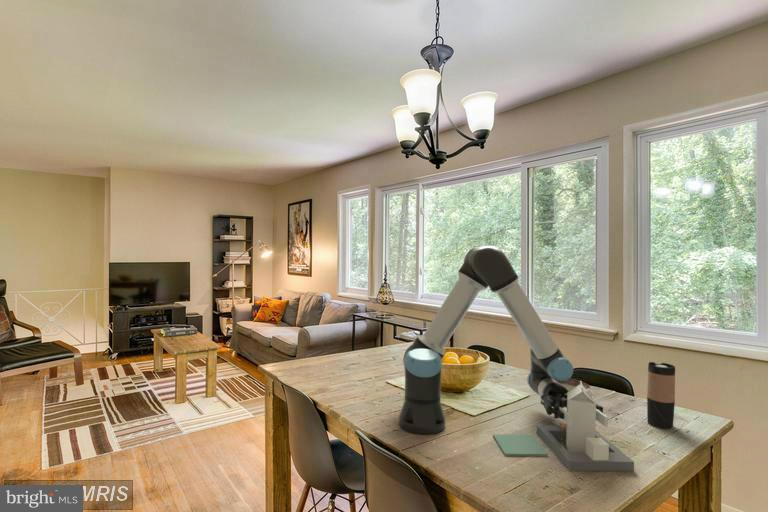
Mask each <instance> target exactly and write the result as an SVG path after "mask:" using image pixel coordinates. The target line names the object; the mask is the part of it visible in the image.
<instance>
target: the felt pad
mask: <svg viewBox="0 0 768 512" xmlns="http://www.w3.org/2000/svg"><path fill="white" fill-rule="evenodd" d="M492 437H493V439H494V440H495V442H496V443H497V444H498V445H497V446H498V447H499V449H500V450H501V452H502V453H503V455H504V456H505V457H509V456H510V457H512V456H513V457H549V453H548V452H547V450H546V449H544V447H543V446H542V445H541V444H540V443H539V441H538V440H537V439H536V438H535V437H534V436H533V434H513V433H512V434H510V433H508V434H506V433H505V434H504V433H503V434H500V433H499V434H497V433H496V434H495V433H493V434H492Z"/></svg>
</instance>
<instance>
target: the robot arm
mask: <svg viewBox="0 0 768 512" xmlns="http://www.w3.org/2000/svg"><path fill="white" fill-rule="evenodd" d="M457 275H458V280H457V281H456V282H455V284H454V286H453V287H452V289H451V290H450V292H449V293H448V295H447V297H446V299H445V300H444V302H443V303H442V304H441V306H440V308H439V309H438V311H437V313H436V315H434V317H433V319H432V321H431V322H430V324H429V325H428V327H427V329H426V330H425V332H424V333H423V334H420V335H417V336H416V337H415V339H414V341H413V343H412V344H411V345H410V346H408V347H407V348H406V350H405V352H404V354H403V358H402V359H403V360H402V362H403V364H402V365H403V367H404V401H403V404H402V407H401V410H400V413H399V416H398V425H399V427H400V428H401V429H402V430H404V431H406V432H409V433H412V434H418V435H433V434H437V433H440V432H442V431H443V430H445V428H446V416H445V412H444V409H443V405H442V402H441V399H442V398H441V395H442V394H441V393H442V392H441V390H442V387H441V386H442V383H441V382H442V367H443V364H442V360H443V358H444V357H445V355H446V351H445V347H446V345H447V344H448V343H449V341H450V339H451V337H452V336H453V334H454V333H455V331H457V328H458V326H459V325H460V324H461V321H462V320H463V318H464V317H465V315H466V314H467V313H468V311H469V309H470V307H471V306H472V304H473V303H474V301H475V299H476V298H477V297H478V295H479V293H480V292H482V291H486V290H487V289H488V287H489V290H491V293H495V294H496V295H497V296H498V297H499V299H500V301H501V303H502V304H503V306H504V307H505V309H506V311H507V312H508V313H509V316H510V317H511V318H512V320H513V322H514V323H515V325H516V326H517V328H518V330H519V331H520V333H521V334H522V336H523V337H524V339H525V341H526V343H527V344H528V345H529V352H530V353H529V355H530V372H529V373H528V375H527V376H526V378H527V379H526V382H527V384H528V386H529V387H530V388H531V390H532V391H533V392H535V394H537V395H538V396H540V404H541V405H542V406H543V408H544V409H545V412H546V414H547V415H548V416H552V415H554V417H553V418H554V419H556V420H557V419H561V420H562V421H563V422H564V423H565V424H568V425H569V426H572V419H573V416H571V415H570V414H569V413H568V412H567V410H566V409H564V408H567V392H569V391H568V390H567V389H566V388H565V387H564V386H562V385H561V384H560V383H558V382H557V381H566V380H568V379H569V378H571V377H572V376H573V374H574V367H573V366H574V365H573V364H572V362H571V361H570V360H569V359H567V358H566V357H565V356H564V354H563V353H562V351H561V350H560V348H559V347H558V345H557V344H556V342H555V340H554V338H553V337H552V335H551V334H550V332H549V330H548V329H547V327H546V325H545V324H544V323H543V321H542V319H541V318H540V316H539V314H538V313H537V311H536V309H535V308H534V306H533V305H532V302H531V301H530V299H529V298H528V296H527V295H526V293H525V291H524V290H523V289H522V287H521V285H520V284H519V282H518V280H519V276H518V274H517V272H516V270H515V269H514V267H513V265H512V263H511V262H510V260H509V259H508V258H507V256H506V255H505V253H504V251H502V250H501V249H500V248H499V247H496V246H493V245H479V246H475V247H473V248H471V249H469V251H468V252H466V255H465V257H464V260H463V262H462V265H461V267H460V268H459V270H458V271H457ZM554 379H555V380H557V381H555V380H554ZM608 419H609V416H607V415H606V414H605V413H604V407H603V406H602V405H601V404H597V403H596V422H598V423H600V425H602V426H604V427H609V425H608V421H609V420H608Z"/></svg>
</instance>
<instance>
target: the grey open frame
mask: <svg viewBox="0 0 768 512" xmlns="http://www.w3.org/2000/svg"><path fill="white" fill-rule="evenodd" d="M566 426H567V423H559V425H558V424H557V425H556V424H555V425H551V424H549V425H548V424H544V425H543V424H541V425H540V424H539V425H538V424H537V425H536V434H537V435H538V437H539V438H541V440H542V441H543V442H544V444H545V445H546V446H547V447H548V448H549V450H550V451H552V453H553V454H554V455H555V456H556V458H558V459H559V461H560V460H561V461H560V462H561V463H562V464H563V465H564V467H565V468H566V469H567V468H568V469H569V470H568V469H567V470H568V471H570V470H579V472H608V471H607V470H610V471H609V472H634V471H635V461H634V460H633V459H631V458H630V457H629V456H628V455H627V454H626V453H624V452H623V451H622V450H621V449H619V448H618V447H617V446H616V445H614V444H613V443H612V442H611V441H610V440H608V439H607V438H606V437H604V436H603V435H602V434H601V433H600V432H598V430H596V429H595V438H586V452H568V451H567V448H565V447H564V446H563V444H562V443H560V442H559V440H566ZM601 470H602V471H601ZM570 472H571V471H570Z"/></svg>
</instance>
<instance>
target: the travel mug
mask: <svg viewBox="0 0 768 512" xmlns="http://www.w3.org/2000/svg"><path fill="white" fill-rule="evenodd" d="M647 366H648V367H647V388H646V390H647V393H646V402H647V403H646V404H647V405H646V410H647V411H646V412H647V413H646V416H647V423H648V425H650V426H652V427H655V428H659V429H664V430H670V429H673V428H674V420H675V419H674V416H675V404H676V399H675V398H676V397H675V396H676V366H675V365H673V364H670V363H666V362H661V363H655V361H651V362H648V364H647Z"/></svg>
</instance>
